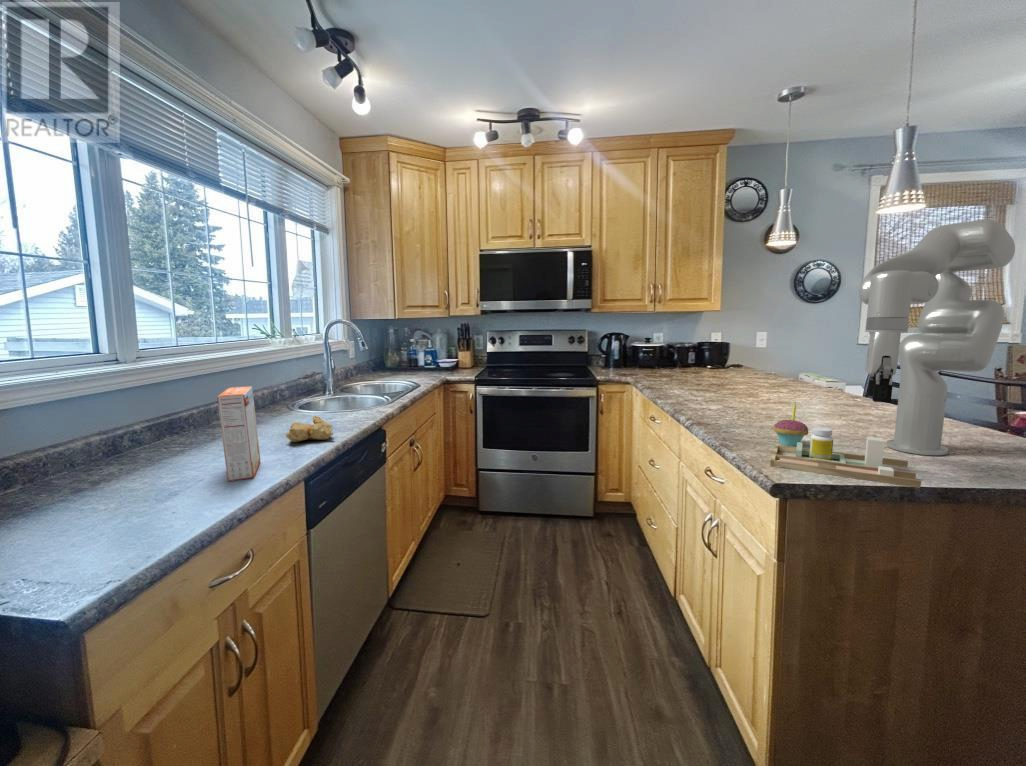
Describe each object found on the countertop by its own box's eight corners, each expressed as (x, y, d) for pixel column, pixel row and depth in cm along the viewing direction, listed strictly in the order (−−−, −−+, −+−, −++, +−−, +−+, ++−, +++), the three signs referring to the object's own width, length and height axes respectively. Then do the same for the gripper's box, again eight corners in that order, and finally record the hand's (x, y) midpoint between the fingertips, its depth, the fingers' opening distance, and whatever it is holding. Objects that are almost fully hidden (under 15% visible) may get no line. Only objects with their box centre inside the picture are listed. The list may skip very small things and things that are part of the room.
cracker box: (235, 465, 117) (227, 387, 115) (261, 462, 120) (253, 385, 117) (225, 482, 105) (215, 395, 102) (254, 478, 107) (245, 393, 104)
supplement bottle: (835, 464, 110) (838, 431, 109) (813, 463, 111) (816, 430, 110) (825, 458, 115) (828, 427, 114) (805, 457, 116) (808, 426, 115)
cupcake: (778, 438, 135) (781, 399, 133) (811, 444, 128) (814, 403, 127) (768, 444, 129) (771, 403, 127) (802, 450, 123) (805, 407, 121)
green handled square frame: (796, 452, 120) (798, 427, 119) (878, 463, 110) (881, 435, 109) (795, 461, 112) (797, 434, 112) (883, 473, 103) (886, 444, 102)
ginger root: (328, 441, 135) (320, 416, 134) (277, 455, 134) (269, 430, 134) (346, 430, 150) (339, 408, 149) (300, 443, 150) (293, 420, 149)
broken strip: (779, 461, 113) (780, 452, 113) (890, 477, 101) (891, 466, 101) (778, 466, 110) (779, 456, 109) (893, 482, 98) (894, 472, 98)
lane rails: (774, 449, 123) (775, 444, 123) (907, 466, 108) (907, 460, 108) (770, 466, 110) (770, 460, 110) (920, 487, 95) (921, 481, 94)
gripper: (862, 325, 112) (855, 393, 114) (869, 326, 98) (862, 402, 100) (901, 325, 108) (893, 395, 110) (915, 326, 93) (906, 406, 96)
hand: (878, 399), depth 105 cm, fingers open, 9 cm apart
